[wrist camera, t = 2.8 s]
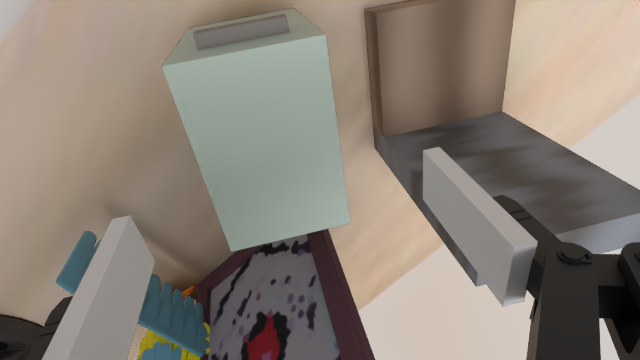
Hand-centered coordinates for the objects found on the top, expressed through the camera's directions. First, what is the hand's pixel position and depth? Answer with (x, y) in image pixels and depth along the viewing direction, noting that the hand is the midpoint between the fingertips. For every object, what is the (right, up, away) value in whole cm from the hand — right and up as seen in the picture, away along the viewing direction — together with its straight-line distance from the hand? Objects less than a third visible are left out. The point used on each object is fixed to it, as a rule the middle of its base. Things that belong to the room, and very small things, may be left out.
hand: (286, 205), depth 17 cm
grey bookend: (+11, +11, +16) cm, 23 cm away
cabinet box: (-4, +8, +14) cm, 17 cm away
